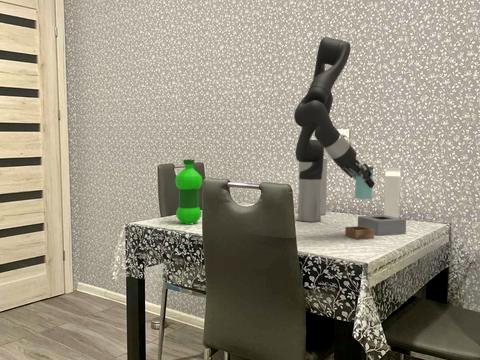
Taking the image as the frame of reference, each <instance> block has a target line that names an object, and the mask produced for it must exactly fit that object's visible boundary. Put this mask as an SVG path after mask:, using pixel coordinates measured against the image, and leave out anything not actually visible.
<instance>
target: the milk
mask: <svg viewBox="0 0 480 360" xmlns="http://www.w3.org/2000/svg"><path fill="white" fill-rule="evenodd" d="M401 171H402V169H401V168H400V167H385V173H384V175H385V178H384V203H383V204H384V205H383V215H387V216H392V217H396V218H400V199H401V198H400V196H401Z"/></svg>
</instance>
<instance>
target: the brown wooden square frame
mask: <svg viewBox="0 0 480 360" xmlns="http://www.w3.org/2000/svg"><path fill="white" fill-rule="evenodd" d="M344 236H345V237H347V238H351V239H355V240H367V239H368V240H369V239H374V238H375V237H374V236H375V235H374V229H370V228H367V227H363V226H358V225H357V226H345V228H344Z"/></svg>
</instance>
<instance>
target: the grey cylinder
mask: <svg viewBox="0 0 480 360" xmlns="http://www.w3.org/2000/svg"><path fill="white" fill-rule="evenodd" d="M311 165H312V162H299V161H298V174H299V173H300V172H301V171H304V170H306V169H308V168H309V167H311ZM327 179H328V158H324V159H323V172H322V189H321V216H322V215H325V214H326V213H327V189H328V188H327V184H328V183H327ZM297 199H298V200H297V201H298V203H299V193H298V198H297ZM298 203H297V204H298Z"/></svg>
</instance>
